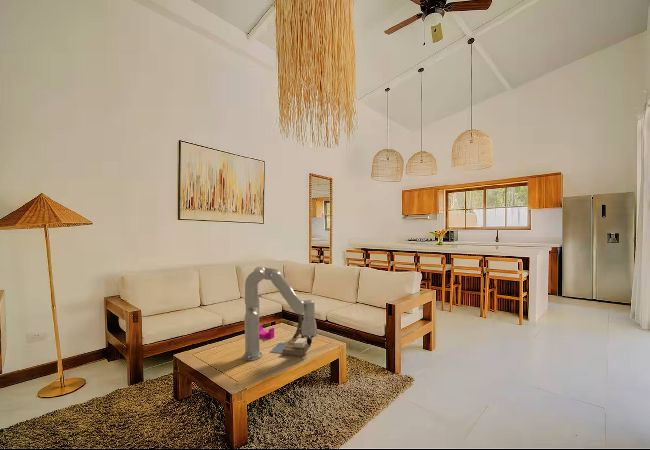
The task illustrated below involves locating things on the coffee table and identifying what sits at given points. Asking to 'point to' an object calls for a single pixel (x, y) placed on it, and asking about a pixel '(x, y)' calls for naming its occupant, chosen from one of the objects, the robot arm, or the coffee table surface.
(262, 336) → the toy block
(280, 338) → the coffee table surface
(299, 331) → the eiffel tower
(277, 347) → the mat
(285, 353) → the deck
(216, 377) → the coffee table surface
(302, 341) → the beige rectangular block
